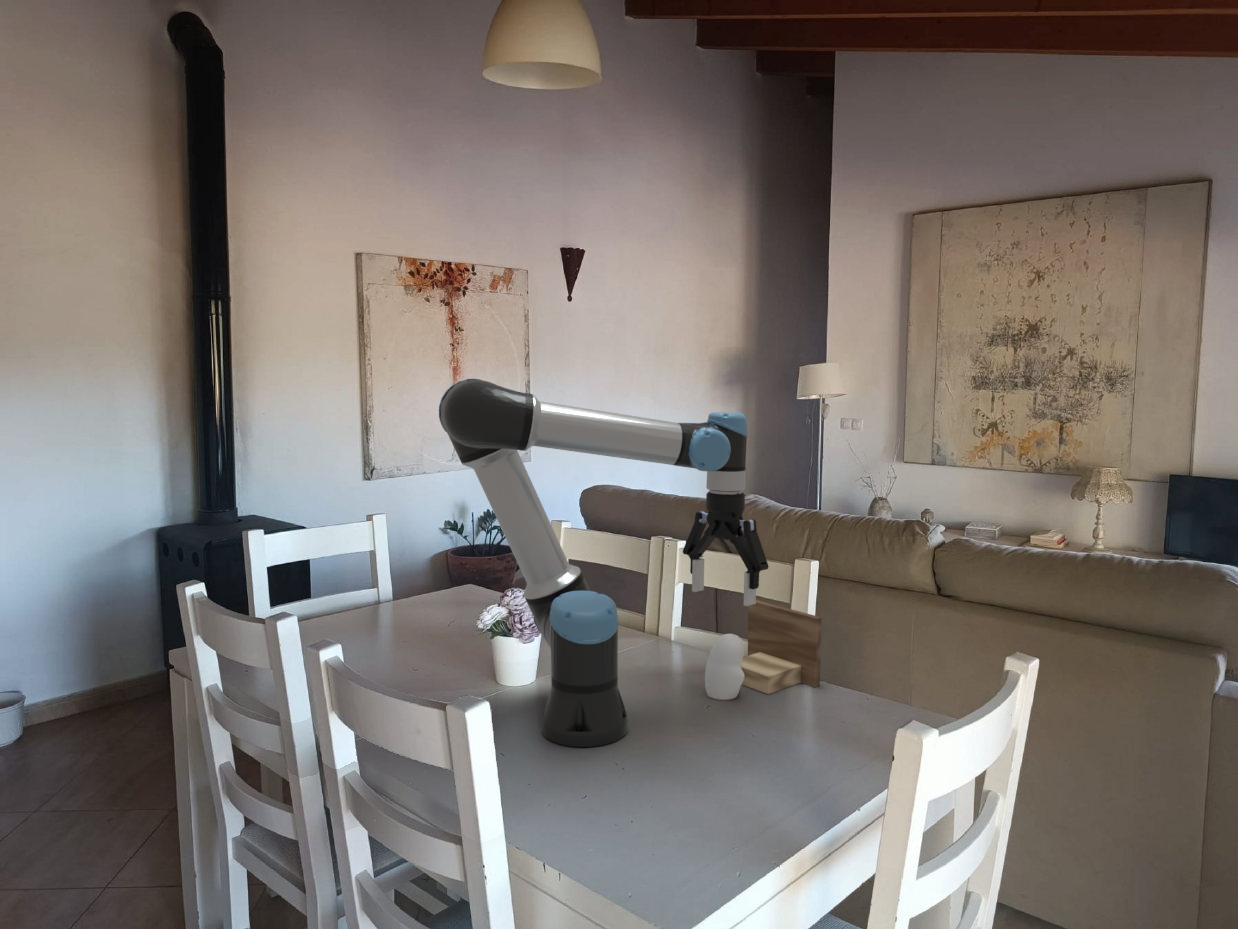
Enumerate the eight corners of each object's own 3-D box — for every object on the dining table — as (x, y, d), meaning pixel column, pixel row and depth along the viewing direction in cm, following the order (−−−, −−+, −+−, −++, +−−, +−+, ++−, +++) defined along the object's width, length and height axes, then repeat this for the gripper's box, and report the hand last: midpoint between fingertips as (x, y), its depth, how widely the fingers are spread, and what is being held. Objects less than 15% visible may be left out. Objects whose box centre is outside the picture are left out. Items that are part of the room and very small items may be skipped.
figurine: (746, 701, 164) (747, 640, 163) (706, 701, 164) (706, 640, 163) (741, 687, 171) (742, 628, 170) (703, 687, 171) (704, 628, 170)
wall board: (782, 699, 165) (783, 628, 163) (714, 674, 179) (715, 608, 177) (819, 685, 172) (821, 617, 170) (752, 662, 186) (753, 598, 184)
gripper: (789, 497, 161) (785, 607, 163) (692, 483, 180) (690, 582, 182) (763, 500, 156) (760, 614, 158) (667, 486, 175) (665, 588, 177)
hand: (722, 597), depth 170 cm, fingers open, 13 cm apart
